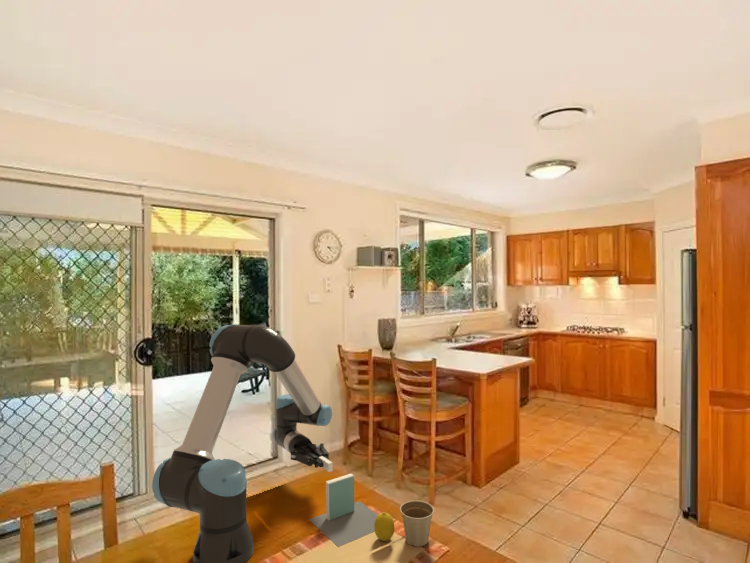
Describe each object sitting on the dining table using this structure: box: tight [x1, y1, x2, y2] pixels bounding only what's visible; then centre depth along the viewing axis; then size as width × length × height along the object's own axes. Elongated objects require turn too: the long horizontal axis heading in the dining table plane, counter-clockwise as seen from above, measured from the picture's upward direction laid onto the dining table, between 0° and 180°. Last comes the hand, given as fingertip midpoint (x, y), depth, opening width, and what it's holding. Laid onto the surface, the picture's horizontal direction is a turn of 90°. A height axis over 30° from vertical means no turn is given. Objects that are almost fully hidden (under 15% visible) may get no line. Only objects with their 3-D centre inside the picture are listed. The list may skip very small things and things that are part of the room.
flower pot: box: [399, 500, 435, 547], centre depth 120 cm, size 9×9×9 cm
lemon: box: [374, 511, 395, 542], centre depth 120 cm, size 6×6×8 cm
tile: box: [325, 473, 355, 520], centre depth 133 cm, size 9×2×11 cm, turn 126°
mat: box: [308, 500, 379, 548], centre depth 129 cm, size 18×17×1 cm
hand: (330, 467), depth 138 cm, fingers closed
